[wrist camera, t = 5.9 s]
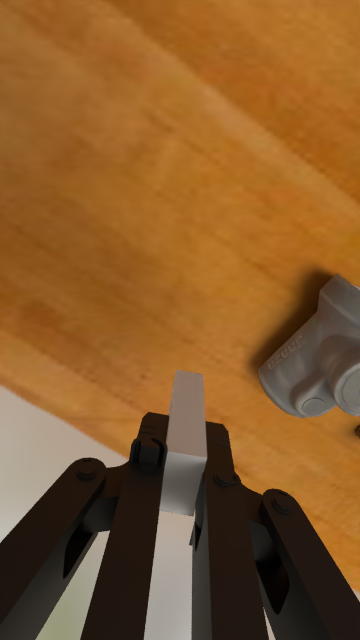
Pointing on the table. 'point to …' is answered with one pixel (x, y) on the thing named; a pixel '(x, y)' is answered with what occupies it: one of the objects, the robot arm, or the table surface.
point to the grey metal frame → (358, 431)
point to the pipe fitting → (320, 358)
